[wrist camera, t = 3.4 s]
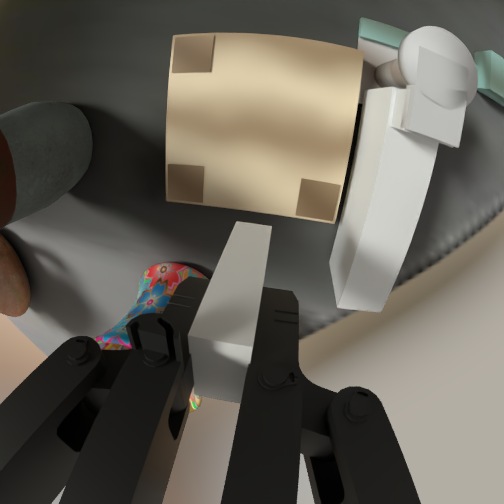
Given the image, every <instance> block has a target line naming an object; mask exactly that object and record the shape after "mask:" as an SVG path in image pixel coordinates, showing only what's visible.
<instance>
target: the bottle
mask: <svg viewBox="0 0 504 504" xmlns="http://www.w3.org/2000/svg"><path fill="white" fill-rule="evenodd" d="M92 148H93V141H92V132H91V129H90V126H89V123H88V120H87V118H86V117H85V116H84V114H83V113H82V112H81V110H80V109H78V108H76V107H75V106H73V105H71V104H67V103H64V102H32V103H29V104H26V105H23V106H21V107H18V108H16V109H13V110H10V111H8V112H6V113H4V114H2V115H0V230H1V229H2V228H3V227H5V226H6V225H8V224H10V223H12V222H14V221H17V220H19V219H21V218H23V217H26V216H28V215H30V214H32V213H34V212H37V211H39V210H41V209H43V208H45V207H48V206H49V205H51V204H52V203H54V202H55V201H56V200H58V199H59V198H60V197H61V196H63V195H64V194H65V193H66V192H68V191H69V190H70V189H71V188H73V187H74V186H75V185H76V183H77V182H78V181H79V180H80V179H81V178H82V176H83V175H84V173H85V172H86V171H87V169H88V166H89V163H90V161H91V157H92Z"/></svg>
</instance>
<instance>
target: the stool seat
mask: <svg viewBox="0 0 504 504" xmlns="http://www.w3.org/2000/svg"><path fill="white" fill-rule="evenodd" d="M407 34H409V32H406V31H404V30H401V29H398V28H395V27H392V26H389V25H386V24H383V23H380V22H377V21H374V20H370V19H367V18H363V17H362V18H361V19H360V25H359V38H358V49H354V48H349V47H345V46H341V45H336V44H331V43H326V42H321V41H315V40H309V39H302V38H295V37H287V36H278V35H266V34H250V33H200V34H184V35H173V42H172V51H171V61H170V72H169V85H168V100H167V121H166V201H170V202H179V203H188V204H197V205H206V206H214V207H222V208H230V209H238V210H246V211H253V212H260V213H268V214H275V215H281V216H288V217H295V218H301V219H308V220H314V221H320V222H326V223H332V224H335V220H336V216H337V212H338V207H339V203H340V198H341V194H342V189H343V184H344V180H345V175H346V170H347V165H348V159H349V154H350V149H351V143H352V137H353V131H354V125H355V119H356V113H357V106H358V103H360V104H363V99H364V91H365V90H369V89H376V88H384V87H396V88H399V89H406V86H407V85H406V83H405V82H404V80H403V78H402V76H401V73H400V70H399V66H398V49H399V45H400V43H401V41H402V40H403V38H404V37H405V36H406V35H407ZM474 63H475V65H476V69H477V74H478V87H477V91H479V92H481V93H483V94H484V95H486V96H488V97H489V98H491V99H493V100H494V101H496V102H497V103H499V104H500V105H502V106H503V107H504V59H503V58H502V57H500V56H499V55H498V54H496V53H495V52H493V51H492V50H489V51H480V52H475V59H474Z"/></svg>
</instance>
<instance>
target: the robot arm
mask: <svg viewBox="0 0 504 504" xmlns="http://www.w3.org/2000/svg"><path fill="white" fill-rule="evenodd" d="M271 230H272V226H267V225H260V224H253V223H246V222H239V221H236V224H235V226H234V228H233V230H232V233H231V235H230V237H229V239H228V242H227V244H226V246H225V249H224V251H223V253H222V255H221V258H220V260H219V262H218V265H217V267H216V269H215V272H214V274H213V276H212V279H211V280H209V279H203V278H197V277H192V276H189V277H187V278H186V279H185V280H183V281H182V282H181V283H179V284H178V286H177V288H176V290H175V291H174V293H173V296H172V297H171V299H170V300H169V303H168V304H167V306H166V308H165V309H164V311H163V313H162V314H161V313H146V314H141V315H139V316H137V317H135V318H133V319H131V320H130V321H129V322H128V323H127V324H126V325H125V327H126V330H127V334H128V337H129V341H130V344H131V347H132V349H127V350H101V348H100V345H99V344H98V343H97V342H96V341H95V340H94V339H92V338H90V337H87V336H77V337H73V338H70V339H69V340H67V341H66V342H64V343H63V344H62V345H61V346H60V347H58V348H57V349H56V350H55V351H54V352H53V353H52V354H51V355H50V356H49V357H48V358H47V359H46V360H45V361H43V363H42V364H40V365H39V366H38V367H37V368H36V369H35V370H34V371H33V372H32V373H31V374H30V375H29V376H28V377H27V378H26V379H25V380H24V381H23V382H22V383H21V384H20V385H19V386H18V387H17V388H16V389H15V390H14V391H13V392H12V393H11V394H10V395H9V396H8V397H7V398H6V399H5V400H4V401H3V402H2V403H1V404H0V504H51V503H52V502H53V500H54V499H55V498H56V497H57V496H58V494H59V493H60V492H61V491H62V489H63V488H64V487H65V486H66V487H65V489H64V492H63V494H62V497H61V500H60V502H59V504H162V502H163V498H164V495H165V491H166V488H167V485H168V481H169V478H170V474H171V471H172V468H173V464H174V461H175V457H176V454H177V450H178V447H179V444H180V440H181V437H182V434H183V431H184V427H185V424H186V421H187V417H188V414H189V411H190V401H189V399H190V396H191V393H192V389H194V394H195V395H199V396H204V397H209V398H214V399H219V400H224V401H229V402H235V403H241V404H240V409H239V414H238V420H237V425H236V430H235V435H234V440H233V446H232V451H231V456H230V461H229V466H228V471H227V475H226V480H225V485H224V490H223V495H222V500H221V504H297V492H298V479H299V464H300V453H302V454H303V455H304V459H305V463H306V468H307V472H308V476H309V481H310V485H311V489H312V494H313V498H314V502H315V504H421V503H420V500H419V497H418V494H417V491H416V488H415V486H414V483H413V480H412V477H411V474H410V472H409V469H408V467H407V464H406V461H405V459H404V456H403V453H402V451H401V448H400V446H399V443H398V441H397V438H396V436H395V433H394V431H393V429H392V426H391V424H390V421H389V419H388V417H387V414H386V412H385V410H384V407H383V405H382V403H381V401H380V400H379V398H378V397H377V396H376V395H375V394H374V393H373V392H371V391H370V390H368V389H365V388H362V387H347V388H345V389H342V390H340V391H339V392H338V393H336V392H333V391H331V390H328V389H325V388H322V387H320V386H317V385H315V384H313V383H312V382H311V381H309V380H308V379H307V378H306V377H305V376H304V374H302V371H301V369H300V367H299V361H298V349H299V348H298V347H299V346H298V345H299V325H298V323H299V315H298V314H299V305H298V300H297V298H296V297H295V295H294V293H293V292H292V291H287V290H280V289H273V288H267V287H263V284H264V278H265V271H266V264H267V257H268V251H269V244H270V237H271Z"/></svg>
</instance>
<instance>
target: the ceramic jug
mask: <svg viewBox="0 0 504 504" xmlns="http://www.w3.org/2000/svg"><path fill="white" fill-rule="evenodd" d="M30 300H31V292H30V285H29V281H28V278H27V275H26V272H25V270H24V267H23V265H22V263H21V261H20V259H19V257H18V255H17V254H16V252H15V250H14V249H13V247H12V246H11V245H10V243H9V242H8V241H7V240H6V239H5V238H4V237H3V236H2V235H1V234H0V313H2V314H5V315H8V316H12V317H17V316H21V315H23V314H24V313H25V312H26V311H27V309H28V307H29V304H30Z"/></svg>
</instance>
